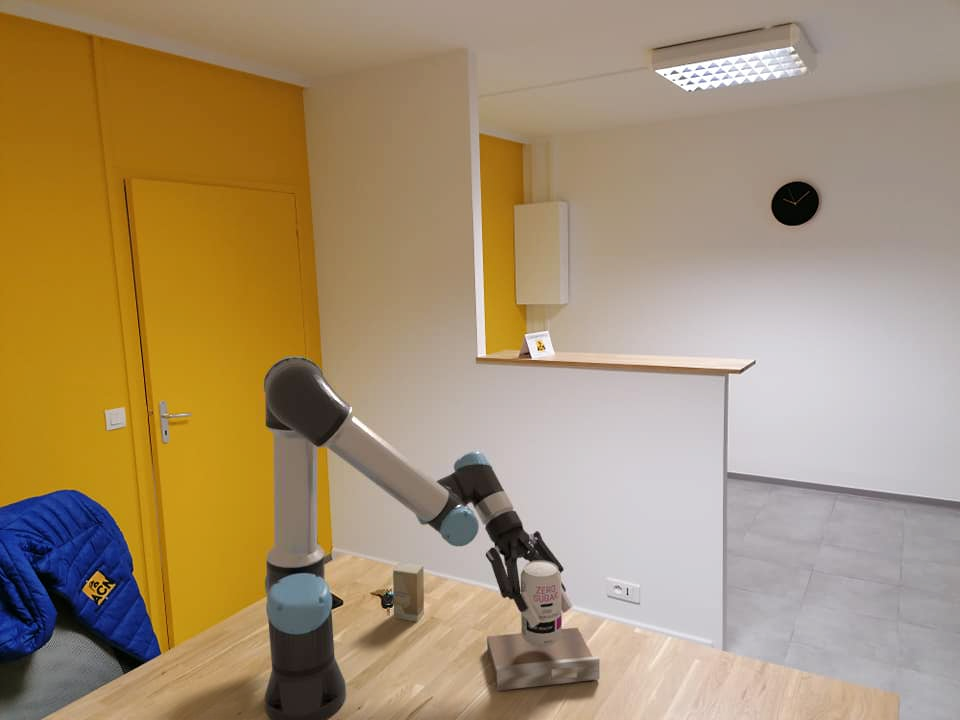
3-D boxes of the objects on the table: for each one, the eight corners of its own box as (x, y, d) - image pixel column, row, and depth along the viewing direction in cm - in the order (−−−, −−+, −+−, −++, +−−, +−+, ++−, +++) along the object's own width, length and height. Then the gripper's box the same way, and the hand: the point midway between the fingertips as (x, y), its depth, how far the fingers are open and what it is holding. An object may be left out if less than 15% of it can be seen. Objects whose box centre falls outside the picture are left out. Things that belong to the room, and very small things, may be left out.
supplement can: (541, 621, 149) (540, 555, 146) (569, 637, 143) (569, 568, 140) (513, 635, 144) (512, 567, 141) (541, 653, 138) (540, 582, 135)
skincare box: (393, 618, 164) (391, 570, 162) (400, 609, 168) (398, 561, 166) (418, 622, 162) (416, 573, 160) (425, 613, 166) (423, 564, 164)
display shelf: (498, 693, 135) (497, 670, 134) (486, 649, 150) (485, 628, 149) (599, 682, 138) (599, 659, 137) (578, 640, 153) (578, 619, 152)
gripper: (527, 513, 159) (579, 606, 149) (453, 539, 146) (504, 642, 136) (543, 497, 154) (598, 592, 144) (467, 522, 141) (521, 628, 131)
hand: (552, 617), depth 140 cm, fingers closed on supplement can, 8 cm apart
